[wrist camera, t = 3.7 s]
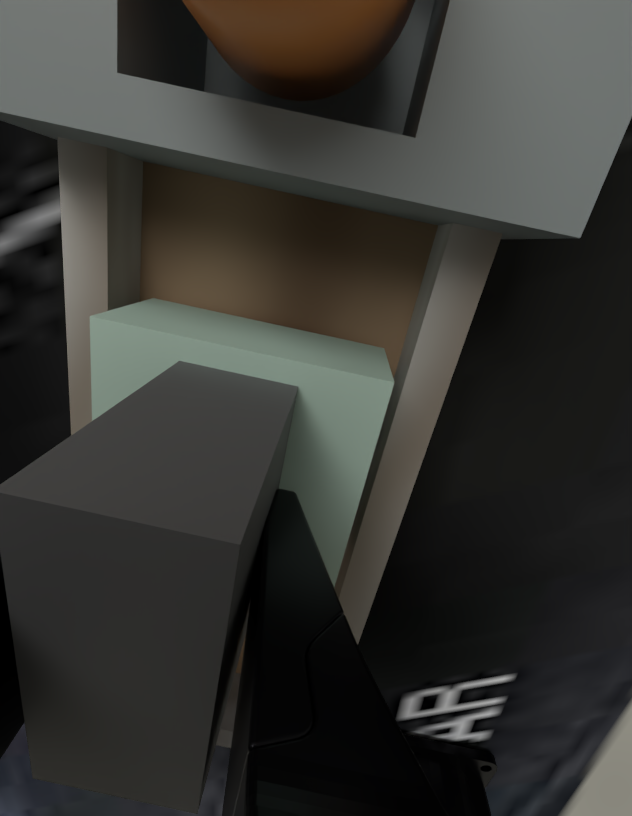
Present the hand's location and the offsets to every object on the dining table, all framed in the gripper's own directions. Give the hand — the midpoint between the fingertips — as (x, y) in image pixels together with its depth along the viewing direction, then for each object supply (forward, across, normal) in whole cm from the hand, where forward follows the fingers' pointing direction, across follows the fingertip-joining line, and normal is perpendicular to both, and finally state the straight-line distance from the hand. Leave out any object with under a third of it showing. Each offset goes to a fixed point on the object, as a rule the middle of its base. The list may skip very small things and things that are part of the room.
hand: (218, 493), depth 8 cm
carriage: (+3, 0, 0) cm, 3 cm away
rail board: (+5, 0, +3) cm, 6 cm away
